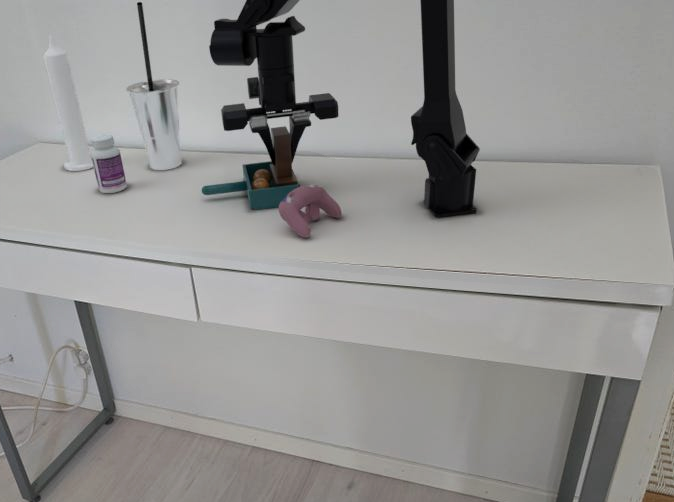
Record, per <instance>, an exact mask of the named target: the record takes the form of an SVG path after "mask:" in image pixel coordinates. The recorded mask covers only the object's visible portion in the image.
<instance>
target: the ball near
mask: <svg viewBox="0 0 674 502" xmlns="http://www.w3.org/2000/svg"><path fill="white" fill-rule="evenodd" d="M264 188H270V184H269V182H268V181H267V180H265V179H263V178H259V179H256V180H255V181H254V182H253V184H252V187H251V189H252V190H256V189H264Z"/></svg>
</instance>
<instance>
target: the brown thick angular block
mask: <svg viewBox="0 0 674 502" xmlns="http://www.w3.org/2000/svg"><path fill="white" fill-rule="evenodd" d="M270 133H271V138H272V143H273V149H274V154H275V165H273V164H270V174H271V182H272V185H273V187H280V186H289V185H297V184H299V180H298V179H297V176H296V174H295V172H294V170H293V163H292V159H291V143H290V134H289V133H290V131H289V129H288V127H287V126H286V125H284V126H277V127H270Z"/></svg>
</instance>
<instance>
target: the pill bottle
mask: <svg viewBox="0 0 674 502" xmlns="http://www.w3.org/2000/svg"><path fill="white" fill-rule="evenodd" d="M90 142H91V146H92V148H93V149H92V150H91V151H90V154H91V159H92V163H93V171H94V175H95V180H96V183H97V186H98V190H99V191H100V192H101V193H104V194H115V193H118V192H121V191H123V190H125V189H126V188H127V186H128V184H127V179H126V174H125V173H126V172H125V169H124V164H123V160H122V155H121V150H120V149H119V147H118V146H116V145H115V139H114V136H113V134H108V133H107V134H99V135H95V136H93V137H91V139H90Z"/></svg>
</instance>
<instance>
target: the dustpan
mask: <svg viewBox="0 0 674 502" xmlns="http://www.w3.org/2000/svg"><path fill="white" fill-rule="evenodd" d="M270 164H272V161H271V160H270V161H262V162H260V161H259V162H252V163H244V164H242V166H241V167H242V174H243V180H242V181H234V182H225V183H224V182H223V183H217V184H209V185H208V184H207V185H203V186H202V188H201V193H202V195H204V196H211V195H212V196H213V195H219V194H227V193H236V192H245V191H246V194H247V200H248V203H249V207H250V209H253V210H254V211H257V210H266V209H273V208H279V204H280V203H281V201H283V199H284V198H285V197H286V196H287V195H288V194H289V193H290V192H291V191H293V190H294V189H296V188H298V187H301V183H298V184H297V185H289V186H280V187H273V185H272V182H271V183H270V188H264V189H256V190H252V189H251V187H252V184H253V182H254V180H253V177H254V174H255V172H256V171H258V170H260V169H265V170H267V171H268V172H269V173H270Z"/></svg>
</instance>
